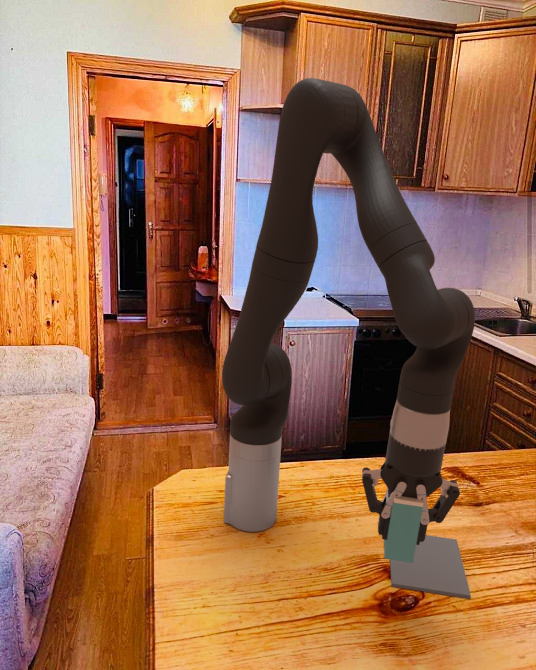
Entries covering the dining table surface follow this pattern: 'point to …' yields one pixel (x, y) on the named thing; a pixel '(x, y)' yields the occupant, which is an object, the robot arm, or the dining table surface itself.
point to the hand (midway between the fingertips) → (400, 538)
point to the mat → (433, 569)
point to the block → (403, 529)
